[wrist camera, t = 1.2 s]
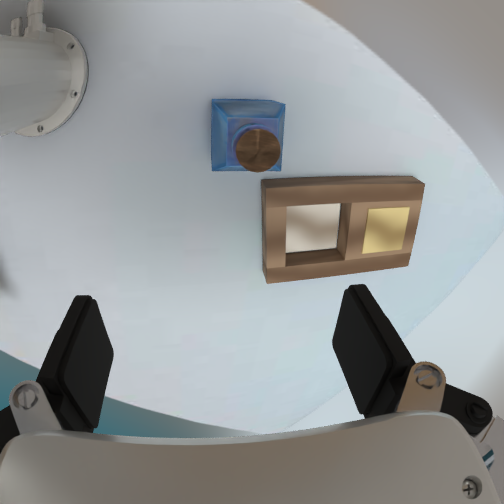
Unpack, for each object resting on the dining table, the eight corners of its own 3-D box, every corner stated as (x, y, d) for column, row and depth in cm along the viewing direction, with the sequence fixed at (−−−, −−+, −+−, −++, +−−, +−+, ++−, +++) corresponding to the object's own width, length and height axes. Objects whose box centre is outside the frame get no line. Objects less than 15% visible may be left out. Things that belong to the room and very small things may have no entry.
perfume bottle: (211, 155, 33) (213, 192, 22) (211, 99, 30) (214, 106, 19) (268, 155, 34) (297, 192, 23) (271, 100, 30) (304, 110, 20)
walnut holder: (261, 179, 35) (266, 189, 32) (412, 176, 37) (425, 184, 34) (262, 270, 41) (267, 284, 38) (397, 255, 43) (408, 266, 40)
